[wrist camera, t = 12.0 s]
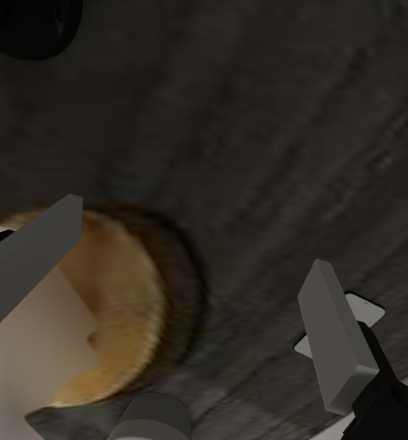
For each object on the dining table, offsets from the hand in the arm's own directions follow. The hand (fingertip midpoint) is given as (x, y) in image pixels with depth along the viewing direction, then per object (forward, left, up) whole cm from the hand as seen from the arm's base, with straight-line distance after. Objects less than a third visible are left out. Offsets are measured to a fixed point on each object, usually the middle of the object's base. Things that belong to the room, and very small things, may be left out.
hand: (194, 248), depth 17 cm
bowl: (+55, -30, -27) cm, 68 cm away
